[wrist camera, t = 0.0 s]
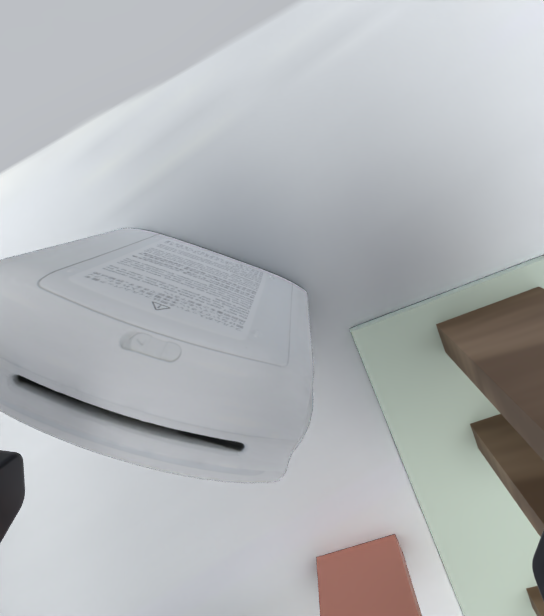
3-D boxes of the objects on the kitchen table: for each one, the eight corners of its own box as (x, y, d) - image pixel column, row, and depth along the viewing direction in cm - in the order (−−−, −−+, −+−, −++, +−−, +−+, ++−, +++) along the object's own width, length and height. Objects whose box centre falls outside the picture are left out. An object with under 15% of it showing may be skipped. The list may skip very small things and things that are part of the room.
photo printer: (102, 295, 22) (-125, 428, 10) (120, 214, 21) (-112, 257, 9) (289, 358, 22) (287, 556, 10) (319, 283, 21) (353, 412, 9)
